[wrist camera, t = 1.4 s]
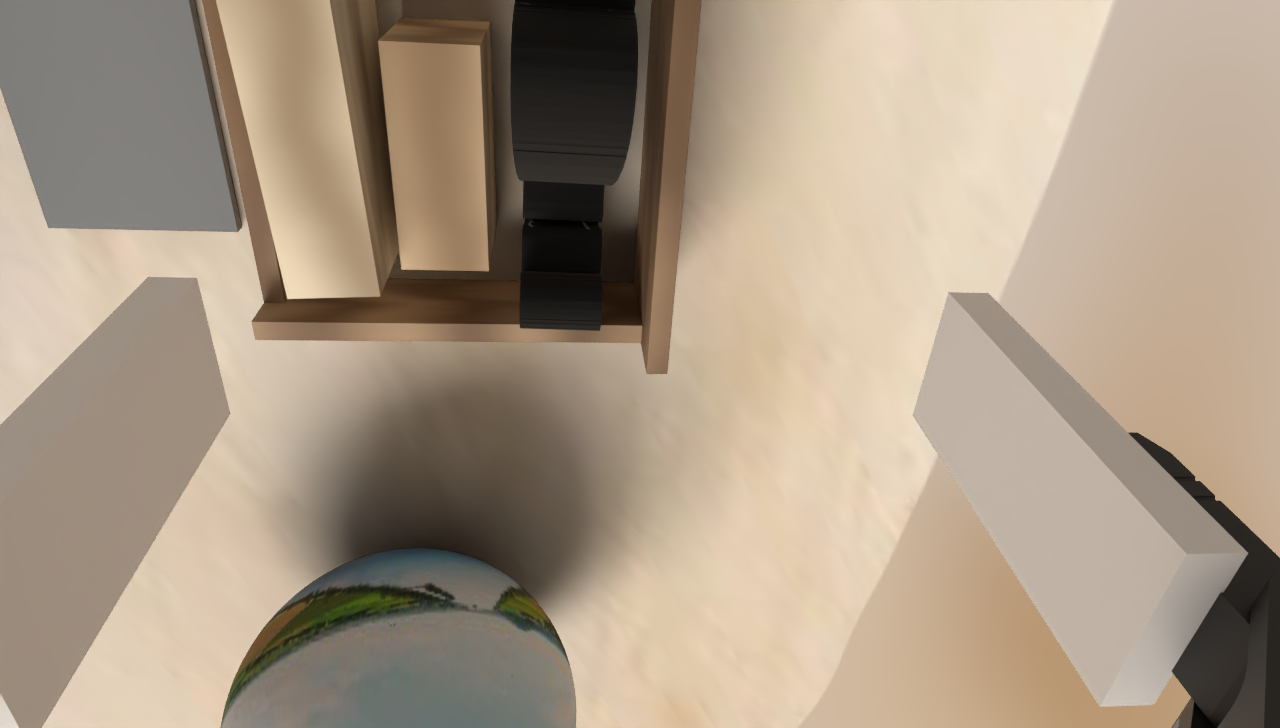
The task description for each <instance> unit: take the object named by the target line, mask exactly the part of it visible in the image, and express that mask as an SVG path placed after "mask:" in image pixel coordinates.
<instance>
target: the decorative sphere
mask: <svg viewBox="0 0 1280 728" xmlns="http://www.w3.org/2000/svg"><path fill="white" fill-rule="evenodd" d="M221 728H576V697H575V688H574V683H573V677H572V672H571V668H570V664H569V661H568V658H567V655H566V652H565V649H564V647H563V645H562V642H561V640H560V638H559V636H558V634H557V631H556V629H555V628H554V626H553V624H552V623H551V621H550V619H549V618H548V616H547V615H546V614H545V612H544V611H543V609H542V608H541V607H540V606H539V604H538V603H537V602H536V601H535V600H534V598H533V597H532V596H531V595H530V594H529V593H528V592H527V591H526V590H525V589H524V588H523V587H521V586H520V585H519V584H518V583H517V582H515V581H514V580H513V579H512V578H510V577H509V576H507V575H506V574H504V573H503V572H501V571H500V570H498V569H496V568H495V567H493V566H491V565H489V564H487V563H485V562H482V561H480V560H478V559H475V558H472V557H470V556H466V555H463V554H460V553H455V552H451V551H446V550H439V549H428V548H409V549H398V550H390V551H385V552H380V553H375V554H371V555H368V556H365V557H362V558H359V559H356V560H353V561H351V562H348V563H346V564H344V565H341V566H339V567H337V568H335V569H333V570H332V571H330V572H328V573H326V574H324V575H323V576H321V577H320V578H318V579H316V580H315V581H313V582H312V583H310V584H309V585H308V586H306V587H305V588H304V589H302V590H301V591H300V592H299V593H297V594H296V595H295V596H294V597H293V598H292V599H291V600H289V601H288V602H287V603H286V604H285V605H284V606H283V607H282V608H281V609H280V610H279V611H278V612H277V613H276V614H275V615H274V616H273V618H272V619H271V620H270V621H269V622H268V623H267V624H266V626H265V627H264V628H263V630H262V631H261V632H260V634H259V635H258V637H257V638H256V640H255V641H254V643H253V644H252V646H251V647H250V649H249V651H248V652H247V654H246V656H245V658H244V659H243V661H242V663H241V665H240V667H239V669H238V672H237V674H236V676H235V678H234V681H233V683H232V686H231V689H230V692H229V695H228V698H227V701H226V705H225V709H224V713H223V718H222V723H221Z"/></svg>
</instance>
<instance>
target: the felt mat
mask: <svg viewBox="0 0 1280 728" xmlns="http://www.w3.org/2000/svg"><path fill="white" fill-rule="evenodd" d="M0 88H1V91H2V94H3V97H4V100H5V103H6V106H7V108H8V111H9V114H10V117H11V120H12V123H13V126H14V129H15V132H16V135H17V138H18V141H19V144H20V146H21V149H22V152H23V155H24V158H25V161H26V164H27V167H28V170H29V173H30V176H31V179H32V182H33V184H34V187H35V190H36V193H37V196H38V199H39V202H40V205H41V208H42V211H43V214H44V217H45V220H46V222H47V225H48V228H78V229H125V230H172V231H219V232H238V231H239V230H240V229H241V228H242V226H241V222H240V217H239V212H238V207H237V202H236V198H235V193H234V188H233V183H232V179H231V174H230V169H229V164H228V159H227V155H226V150H225V145H224V140H223V136H222V131H221V126H220V121H219V116H218V112H217V107H216V102H215V97H214V93H213V88H212V83H211V78H210V73H209V69H208V64H207V59H206V54H205V50H204V45H203V40H202V35H201V30H200V26H199V21H198V16H197V11H196V7H195V2H194V0H0Z"/></svg>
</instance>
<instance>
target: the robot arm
mask: <svg viewBox="0 0 1280 728" xmlns="http://www.w3.org/2000/svg"><path fill="white" fill-rule="evenodd" d="M229 415H230V411H229V407H228V403H227V399H226V394H225V390H224V386H223V382H222V378H221V374H220V370H219V366H218V362H217V358H216V354H215V350H214V346H213V342H212V338H211V334H210V330H209V326H208V321H207V317H206V313H205V309H204V305H203V301H202V297H201V293H200V289H199V285H198V281H197V278H167V277H148V278H147V279H146V280H145V281H144V282H143V283H142V284H141V285H140V286H139V287H138V288H137V289H136V290H135V291H134V292H133V293H132V294H131V295H130V296H129V297H128V298H127V299H126V300H125V301H124V302H123V303H122V304H121V305H120V306H119V307H118V308H117V309H116V310H115V311H114V312H113V313H112V314H111V315H110V316H109V317H108V318H107V319H106V320H105V321H104V322H103V323H102V324H101V325H100V326H99V327H98V328H97V329H96V330H95V331H94V332H93V333H92V334H91V335H90V336H89V337H88V338H87V339H86V340H85V341H84V342H83V343H82V344H81V345H80V346H79V347H78V348H77V349H76V350H75V351H74V352H73V353H72V354H71V355H70V356H69V357H68V358H67V359H66V360H65V361H64V362H63V363H62V364H61V365H60V366H59V367H58V368H57V369H56V370H55V371H54V372H53V373H52V374H51V375H50V376H49V377H48V378H47V379H46V380H45V381H44V382H43V383H42V384H41V385H40V386H39V387H38V388H37V389H36V390H35V391H34V392H33V393H32V394H31V395H30V396H29V397H28V398H27V399H26V400H25V401H24V402H23V403H22V404H21V405H20V406H19V407H18V408H17V409H16V410H15V411H14V412H13V413H12V414H11V415H10V416H9V417H8V418H7V419H6V420H5V421H4V422H3V423H2V424H1V425H0V728H42V726H43V725H44V723H45V721H46V720H47V718H48V716H49V715H50V713H51V711H52V710H53V708H54V706H55V705H56V703H57V701H58V700H59V698H60V696H61V695H62V693H63V691H64V690H65V688H66V686H67V685H68V683H69V681H70V680H71V678H72V676H73V675H74V673H75V671H76V670H77V668H78V666H79V665H80V663H81V661H82V660H83V658H84V656H85V655H86V653H87V651H88V650H89V648H90V646H91V645H92V643H93V641H94V640H95V638H96V636H97V635H98V633H99V631H100V630H101V628H102V626H103V625H104V623H105V621H106V620H107V618H108V616H109V615H110V613H111V611H112V610H113V608H114V606H115V605H116V603H117V601H118V600H119V598H120V596H121V595H122V593H123V591H124V590H125V588H126V586H127V585H128V583H129V581H130V580H131V578H132V576H133V575H134V573H135V571H136V570H137V568H138V566H139V565H140V563H141V561H142V560H143V558H144V556H145V555H146V553H147V551H148V550H149V548H150V546H151V545H152V543H153V541H154V540H155V538H156V536H157V535H158V533H159V531H160V530H161V528H162V526H163V525H164V523H165V521H166V520H167V518H168V516H169V515H170V513H171V511H172V510H173V508H174V506H175V505H176V503H177V501H178V500H179V498H180V496H181V495H182V493H183V491H184V490H185V488H186V486H187V485H188V483H189V481H190V480H191V478H192V476H193V475H194V473H195V471H196V470H197V468H198V467H199V465H200V463H201V462H202V460H203V458H204V457H205V455H206V453H207V452H208V450H209V448H210V447H211V445H212V443H213V442H214V440H215V438H216V437H217V435H218V433H219V432H220V430H221V428H222V427H223V425H224V423H225V422H226V420H227V418H228V417H229ZM913 416H914V418H915V420H916V421H917V423H918V424H919V426H920V427H921V429H922V430H923V432H924V434H925V435H926V437H927V438H928V440H929V441H930V443H931V444H932V446H933V448H934V449H935V451H936V452H937V454H938V455H939V457H940V459H941V460H942V462H943V463H944V465H945V466H946V468H947V469H948V471H949V473H950V474H951V476H952V477H953V479H954V480H955V482H956V483H957V485H958V486H959V488H960V490H961V491H962V493H963V494H964V496H965V497H966V499H967V501H968V502H969V504H970V505H971V507H972V508H973V510H974V511H975V513H976V515H977V516H978V518H979V519H980V521H981V522H982V524H983V525H984V527H985V529H986V530H987V532H988V533H989V535H990V536H991V538H992V540H993V541H994V543H995V544H996V546H997V547H998V549H999V550H1000V552H1001V554H1002V555H1003V557H1004V558H1005V560H1006V561H1007V563H1008V564H1009V566H1010V568H1011V569H1012V571H1013V572H1014V574H1015V575H1016V577H1017V578H1018V580H1019V582H1020V583H1021V585H1022V586H1023V587H1024V589H1025V591H1026V593H1027V594H1028V595H1029V597H1030V599H1031V600H1032V602H1033V603H1034V605H1035V607H1036V608H1037V610H1038V611H1039V613H1040V614H1041V616H1042V617H1043V619H1044V621H1045V622H1046V624H1047V625H1048V627H1049V628H1050V630H1051V632H1052V633H1053V635H1054V636H1055V638H1056V639H1057V641H1058V642H1059V644H1060V646H1061V647H1062V649H1063V650H1064V652H1065V653H1066V655H1067V656H1068V658H1069V659H1070V661H1071V662H1072V664H1073V666H1074V667H1075V669H1076V670H1077V672H1078V674H1079V675H1080V677H1081V678H1082V680H1083V681H1084V683H1085V684H1086V686H1087V688H1088V689H1089V691H1090V692H1091V694H1092V695H1093V697H1094V698H1095V700H1096V701H1097V703H1098V704H1099V706H1100V707H1103V706H1131V705H1153V704H1154V703H1155V702H1156V700H1157V698H1158V697H1159V695H1160V694H1161V692H1162V690H1163V689H1164V687H1165V686H1166V684H1167V682H1168V681H1169V679H1170V678H1171V676H1172V674H1174V675H1175V676H1176V678H1177V679H1178V680H1179V682H1180V683H1181V684H1182V686H1183V687H1184V688H1185V689H1186V691H1187V692H1188V693H1189V695H1190V696H1191V699H1190V700H1189V702H1188V703H1187V705H1186V706H1185V708H1184V710H1183V711H1182V712H1181V714H1180V715H1179V717H1178V719H1177V720H1176V722H1175V723H1174V725H1173V726H1172V728H1280V558H1279V557H1278V556H1277V555H1276V554H1275V553H1274V552H1273V551H1272V550H1271V549H1270V548H1269V547H1268V546H1267V545H1266V544H1265V543H1264V542H1263V541H1262V540H1261V539H1260V538H1259V537H1257V536H1256V535H1255V534H1254V533H1253V532H1252V531H1251V530H1250V529H1249V528H1248V527H1247V526H1246V525H1245V524H1244V523H1243V522H1242V521H1241V520H1240V519H1239V518H1238V517H1237V516H1235V514H1234V513H1233V512H1231V511H1230V510H1229V509H1228V508H1227V507H1226V506H1225V505H1224V504H1223V503H1222V502H1221V501H1216V500H1215V495H1214V494H1213V493H1212V492H1210V490H1208V488H1207V487H1206V486H1205V485H1203V484H1202V483H1201V482H1200V481H1195V476H1194V475H1193V474H1192V473H1191V472H1190V471H1189V470H1188V469H1187V468H1186V467H1185V466H1184V465H1183V464H1182V463H1181V462H1180V461H1179V460H1177V459H1176V458H1175V457H1174V456H1173V455H1172V454H1171V453H1170V452H1168V451H1167V450H1165V449H1163V448H1162V447H1160V446H1158V445H1157V444H1155V443H1153V442H1152V441H1150V440H1149V439H1147V438H1145V437H1144V436H1142V435H1140V434H1139V433H1128V432H1127V431H1125V429H1123V427H1122V426H1120V425H1119V423H1118V422H1117V421H1115V420H1114V418H1113V417H1112V416H1111V415H1109V413H1108V412H1106V410H1105V409H1104V408H1102V407H1101V405H1100V404H1098V403H1097V402H1096V401H1095V399H1094V398H1092V397H1091V395H1089V393H1087V391H1086V390H1085V389H1083V388H1082V386H1080V384H1079V383H1077V382H1076V381H1075V379H1074V378H1073V377H1071V375H1069V373H1068V372H1067V371H1065V369H1064V368H1062V367H1061V366H1060V365H1059V364H1058V363H1057V362H1056V361H1055V360H1054V359H1053V358H1052V357H1051V356H1050V355H1049V354H1048V353H1047V352H1046V351H1045V350H1044V349H1043V348H1042V347H1041V346H1040V345H1039V344H1038V343H1037V342H1036V341H1035V340H1034V339H1033V338H1032V337H1031V336H1030V335H1029V334H1028V333H1027V332H1026V331H1025V330H1024V329H1023V328H1022V327H1021V326H1020V325H1019V324H1018V323H1017V322H1016V321H1015V320H1014V319H1013V318H1012V317H1011V316H1010V315H1009V314H1008V313H1007V312H1006V311H1005V310H1004V309H1003V308H1002V307H1001V306H1000V305H999V304H998V303H997V302H996V301H995V300H994V299H993V298H992V297H991V296H990V295H989V294H988V293H950V292H949V293H948V296H947V300H946V303H945V307H944V310H943V313H942V317H941V320H940V324H939V327H938V331H937V334H936V337H935V341H934V344H933V348H932V351H931V355H930V358H929V361H928V365H927V368H926V372H925V375H924V379H923V382H922V385H921V389H920V392H919V396H918V399H917V403H916V406H915V409H914V413H913Z"/></svg>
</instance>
